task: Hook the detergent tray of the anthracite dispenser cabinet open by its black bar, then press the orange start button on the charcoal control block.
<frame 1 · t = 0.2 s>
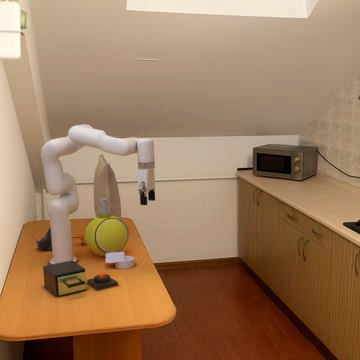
hand: (147, 202, 252), 31 cm above the table, tool pointing down, fingers open, 9 cm apart
control block: (102, 284, 236), on the table
dispenser: (65, 288, 232), on the table
wedge on round base: (120, 266, 260), on the table
detergent tray: (68, 280, 228), point 5 cm above the table, slide at 0.5 cm
start button: (102, 275, 235), point 4 cm above the table, slide at 0.1 cm
dragon figurine: (61, 247, 291), on the table
pillow: (108, 232, 320), on the table
toy: (106, 255, 277), on the table
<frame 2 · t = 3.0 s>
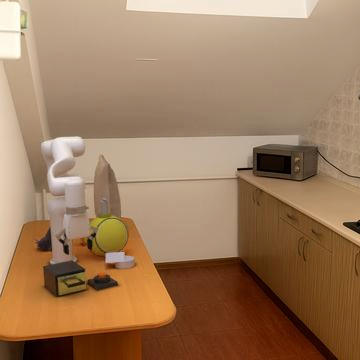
hand: (78, 251, 223), 18 cm above the table, tool pointing down, fingers open, 9 cm apart
nothing on the table moved.
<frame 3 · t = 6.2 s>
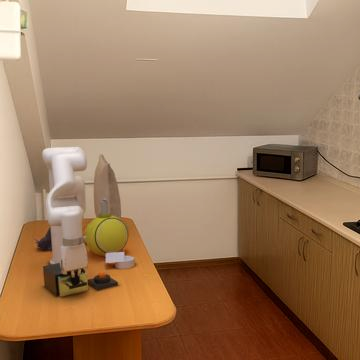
hand: (75, 285, 222), 5 cm above the table, tool pointing down, fingers closed
detergent tray: (70, 281, 226), point 5 cm above the table, slide at 2.2 cm, touching gripper
everything else where it was.
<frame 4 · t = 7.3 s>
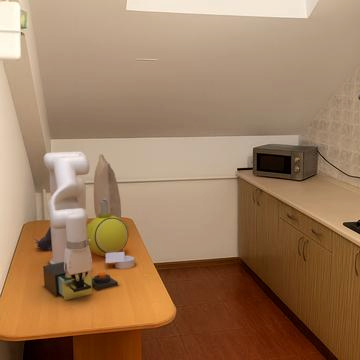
hand: (80, 289, 218), 5 cm above the table, tool pointing down, fingers closed
detergent tray: (74, 284, 223), point 5 cm above the table, slide at 6.6 cm, touching gripper
everything else where it was.
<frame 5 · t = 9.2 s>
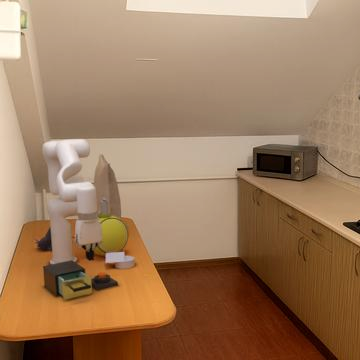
hand: (90, 259, 226), 14 cm above the table, tool pointing down, fingers closed
detergent tray: (73, 284, 223), point 5 cm above the table, slide at 6.2 cm
everything else where it was.
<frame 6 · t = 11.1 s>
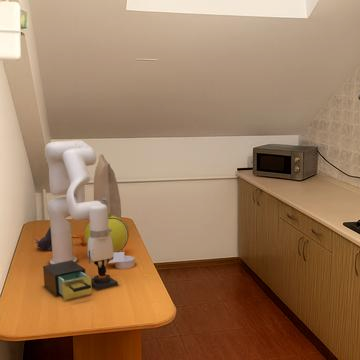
hand: (102, 275, 235), 4 cm above the table, tool pointing down, fingers closed
start button: (102, 277, 235), point 3 cm above the table, slide at -0.5 cm, touching gripper
everything else where it was.
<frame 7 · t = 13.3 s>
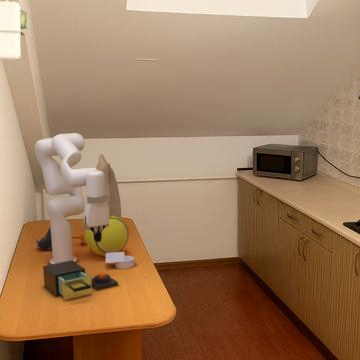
hand: (97, 241, 238), 18 cm above the table, tool pointing down, fingers closed
start button: (102, 275, 235), point 4 cm above the table, slide at 0.1 cm
everything else where it was.
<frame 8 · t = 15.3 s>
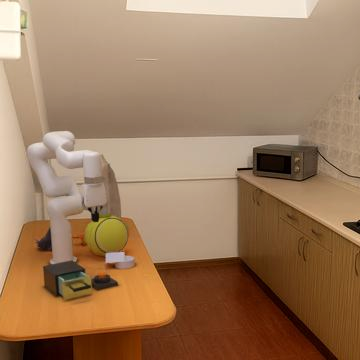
hand: (95, 221, 242), 25 cm above the table, tool pointing down, fingers closed
nothing on the table moved.
at the end: detergent tray slide at 6.2 cm; start button pushed in 1.1 cm at the most during the clip and back out by the end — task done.
